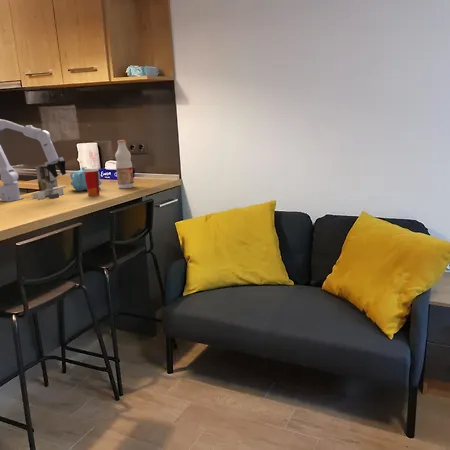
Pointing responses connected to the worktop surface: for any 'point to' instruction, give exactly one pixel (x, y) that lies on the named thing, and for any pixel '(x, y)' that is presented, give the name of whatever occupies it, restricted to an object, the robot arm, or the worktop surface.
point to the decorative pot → (80, 180)
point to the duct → (46, 193)
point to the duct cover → (50, 187)
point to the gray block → (54, 195)
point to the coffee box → (45, 178)
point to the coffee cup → (92, 181)
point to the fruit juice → (124, 166)
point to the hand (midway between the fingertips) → (60, 175)
